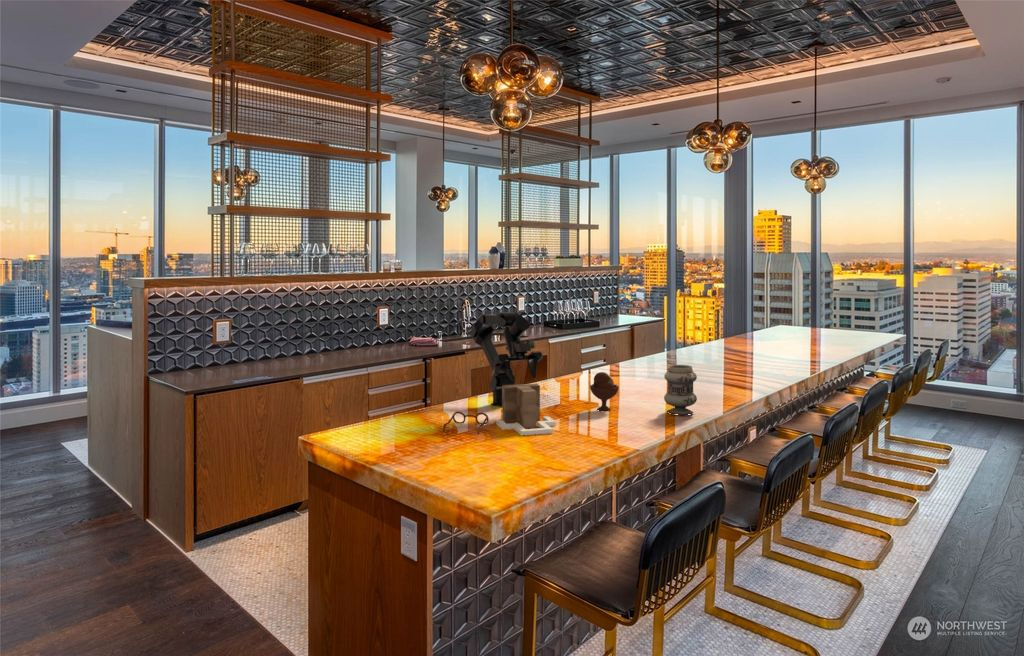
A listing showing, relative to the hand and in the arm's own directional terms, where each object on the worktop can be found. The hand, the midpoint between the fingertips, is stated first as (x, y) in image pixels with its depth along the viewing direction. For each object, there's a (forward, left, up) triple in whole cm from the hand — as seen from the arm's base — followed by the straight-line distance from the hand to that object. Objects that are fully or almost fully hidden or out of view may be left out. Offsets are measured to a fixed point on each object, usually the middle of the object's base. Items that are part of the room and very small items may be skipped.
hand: (523, 379), depth 245 cm
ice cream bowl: (+24, +20, -13) cm, 34 cm away
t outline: (+11, -17, -13) cm, 25 cm away
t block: (+7, -13, -13) cm, 20 cm away
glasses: (-8, -28, -14) cm, 32 cm away
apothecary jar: (+51, +29, -13) cm, 60 cm away
